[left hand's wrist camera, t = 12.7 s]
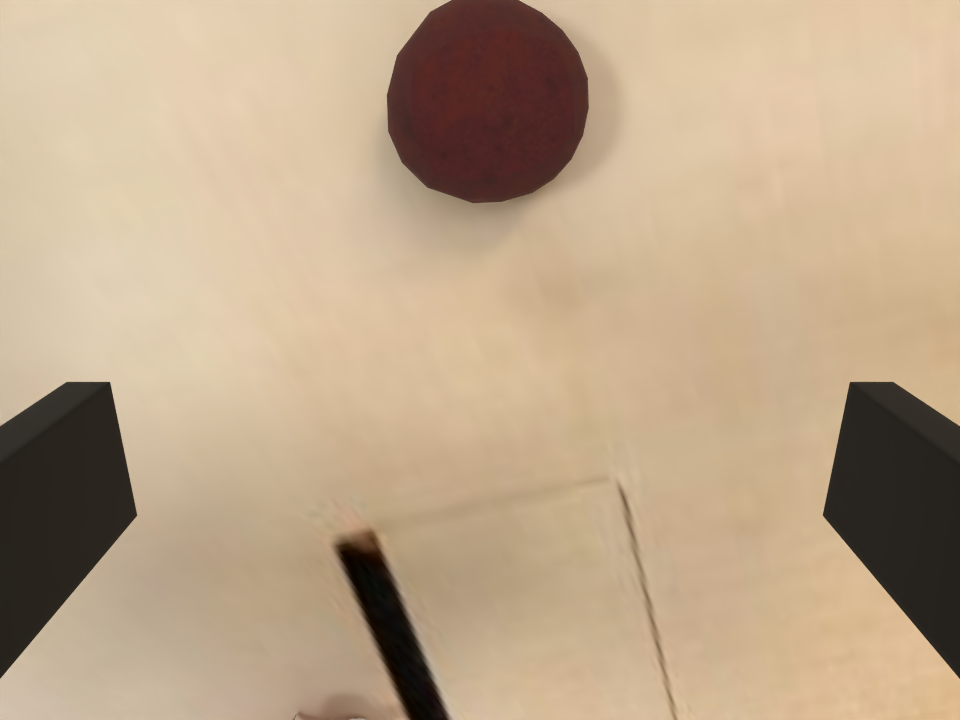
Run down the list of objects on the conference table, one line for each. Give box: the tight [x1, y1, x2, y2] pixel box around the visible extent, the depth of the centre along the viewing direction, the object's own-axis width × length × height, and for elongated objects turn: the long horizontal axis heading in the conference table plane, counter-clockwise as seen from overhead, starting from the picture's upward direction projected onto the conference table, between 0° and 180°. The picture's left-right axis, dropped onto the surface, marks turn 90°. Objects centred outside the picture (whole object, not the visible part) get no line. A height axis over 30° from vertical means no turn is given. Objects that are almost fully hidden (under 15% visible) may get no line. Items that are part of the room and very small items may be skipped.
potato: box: [387, 0, 589, 203], centre depth 26 cm, size 7×8×7 cm
